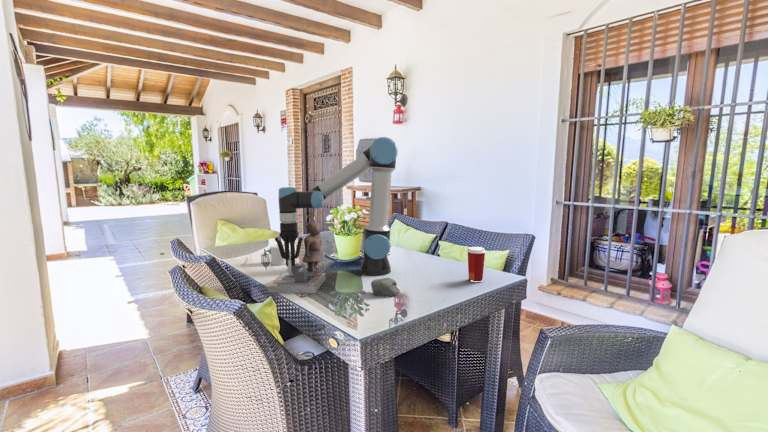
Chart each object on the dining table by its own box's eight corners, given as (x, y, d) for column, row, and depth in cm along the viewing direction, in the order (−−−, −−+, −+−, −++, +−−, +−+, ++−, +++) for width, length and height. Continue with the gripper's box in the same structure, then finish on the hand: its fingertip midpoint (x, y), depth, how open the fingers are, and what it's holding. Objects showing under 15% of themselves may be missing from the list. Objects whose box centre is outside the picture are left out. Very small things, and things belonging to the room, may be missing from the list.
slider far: (305, 273, 175) (305, 261, 174) (302, 276, 170) (301, 264, 169) (296, 273, 175) (296, 261, 175) (293, 276, 170) (293, 264, 170)
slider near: (307, 280, 165) (307, 267, 164) (304, 283, 160) (303, 270, 159) (298, 280, 165) (298, 267, 164) (295, 283, 160) (294, 270, 160)
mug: (286, 266, 200) (286, 248, 199) (268, 264, 205) (267, 246, 204) (296, 263, 208) (295, 245, 206) (278, 261, 212) (277, 244, 211)
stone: (397, 298, 150) (385, 276, 150) (378, 306, 153) (366, 284, 153) (402, 291, 159) (391, 270, 159) (384, 299, 162) (373, 278, 162)
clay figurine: (314, 274, 186) (312, 223, 183) (297, 272, 190) (295, 222, 187) (328, 267, 198) (327, 220, 195) (312, 265, 202) (310, 219, 199)
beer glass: (486, 279, 175) (487, 247, 173) (483, 284, 168) (483, 251, 166) (468, 277, 178) (468, 245, 177) (464, 282, 171) (464, 249, 169)
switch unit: (325, 279, 177) (325, 270, 177) (314, 293, 158) (314, 284, 157) (283, 278, 179) (283, 270, 178) (267, 292, 159) (267, 283, 158)
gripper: (305, 220, 173) (307, 271, 176) (277, 220, 174) (279, 270, 177) (300, 223, 166) (302, 275, 169) (271, 223, 167) (274, 275, 170)
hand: (291, 273), depth 173 cm, fingers closed
